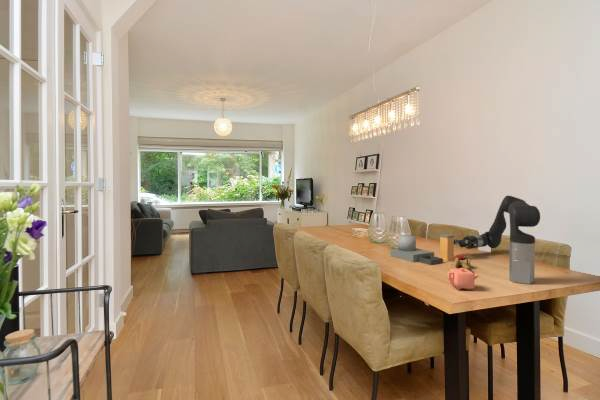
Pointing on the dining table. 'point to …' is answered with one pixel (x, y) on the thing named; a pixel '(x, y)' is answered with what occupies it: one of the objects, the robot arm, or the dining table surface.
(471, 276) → the pink cube teapot
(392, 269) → the dining table surface
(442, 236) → the orange tall block
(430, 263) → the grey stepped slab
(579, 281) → the dining table surface
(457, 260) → the red flower
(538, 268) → the dining table surface
